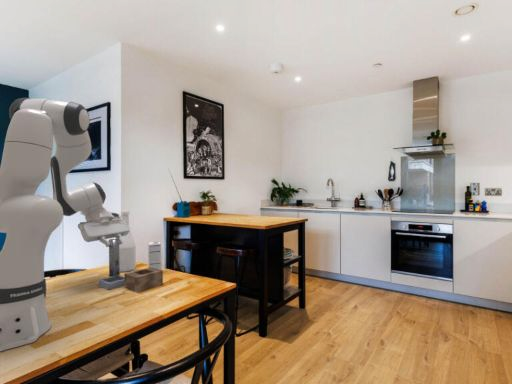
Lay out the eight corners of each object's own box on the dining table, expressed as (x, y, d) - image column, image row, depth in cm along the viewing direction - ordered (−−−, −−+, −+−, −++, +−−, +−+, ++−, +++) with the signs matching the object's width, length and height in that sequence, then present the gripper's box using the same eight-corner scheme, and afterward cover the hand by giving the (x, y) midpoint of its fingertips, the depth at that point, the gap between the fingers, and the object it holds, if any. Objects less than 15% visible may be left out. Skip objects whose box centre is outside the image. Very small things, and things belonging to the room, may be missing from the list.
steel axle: (112, 277, 123) (111, 240, 123) (107, 275, 126) (106, 239, 126) (121, 274, 127) (121, 239, 126) (116, 273, 129) (116, 238, 129)
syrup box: (161, 273, 143) (161, 243, 143) (148, 274, 141) (148, 244, 141) (160, 270, 149) (160, 241, 148) (148, 271, 146) (148, 242, 146)
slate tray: (109, 290, 120) (109, 283, 120) (98, 285, 125) (98, 279, 125) (130, 284, 127) (130, 278, 127) (118, 280, 132) (118, 274, 132)
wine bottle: (134, 271, 146) (134, 210, 146) (113, 273, 144) (112, 210, 143) (136, 266, 155) (136, 209, 155) (116, 268, 153) (116, 209, 152)
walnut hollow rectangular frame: (136, 292, 117) (136, 277, 117) (124, 288, 122) (124, 273, 122) (162, 284, 127) (162, 270, 127) (150, 280, 132) (150, 267, 132)
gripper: (79, 217, 120) (95, 244, 115) (122, 213, 138) (138, 236, 134) (72, 228, 122) (88, 254, 117) (116, 222, 140) (131, 245, 136)
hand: (115, 244), depth 126 cm, fingers closed on steel axle, 4 cm apart
